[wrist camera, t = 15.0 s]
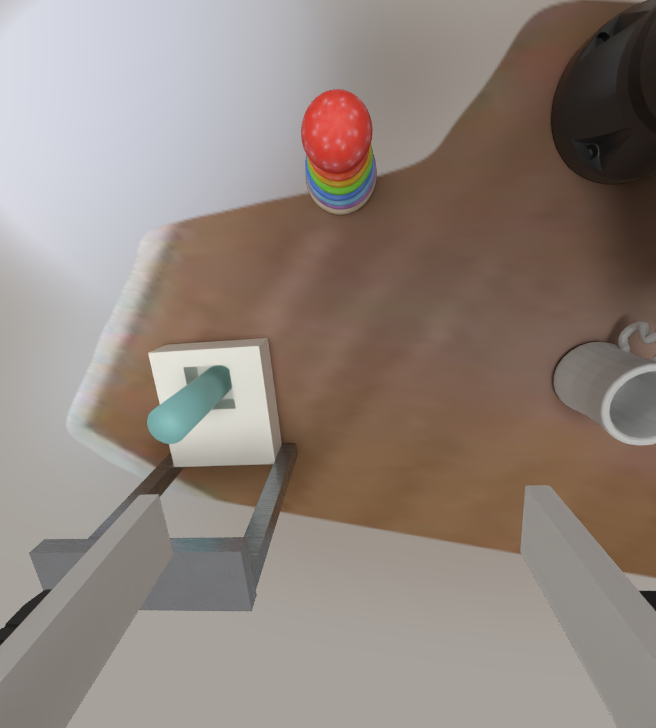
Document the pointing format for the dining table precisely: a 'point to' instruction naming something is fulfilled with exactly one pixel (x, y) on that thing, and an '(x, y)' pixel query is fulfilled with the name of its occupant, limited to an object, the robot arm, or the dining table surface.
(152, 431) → the peg
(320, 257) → the dining table surface
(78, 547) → the grey rectangular frame
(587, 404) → the mug
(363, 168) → the stacking toy
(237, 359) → the socket block
